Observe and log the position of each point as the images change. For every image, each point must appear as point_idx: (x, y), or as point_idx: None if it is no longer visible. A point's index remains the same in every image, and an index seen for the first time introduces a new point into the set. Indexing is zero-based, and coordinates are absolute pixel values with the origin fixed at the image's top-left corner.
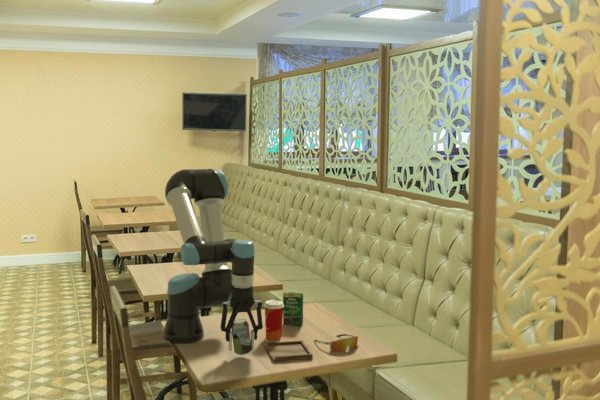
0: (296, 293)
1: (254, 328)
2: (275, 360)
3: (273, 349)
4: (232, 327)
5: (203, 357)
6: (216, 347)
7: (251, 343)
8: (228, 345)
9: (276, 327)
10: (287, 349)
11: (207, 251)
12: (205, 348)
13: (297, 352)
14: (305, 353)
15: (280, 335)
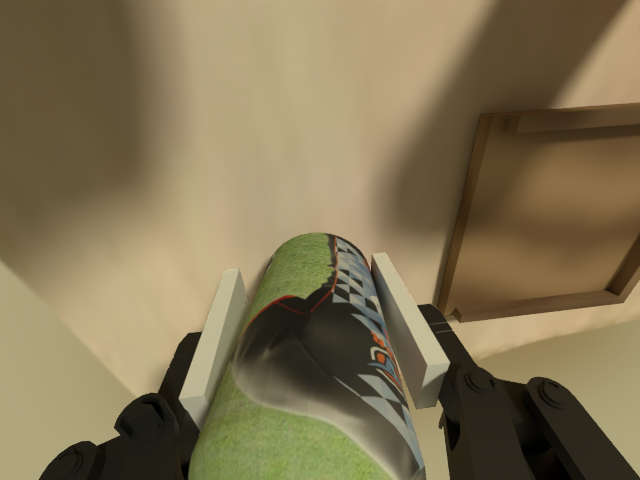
0: None
1: (454, 440)
2: (450, 311)
3: (503, 203)
4: None
5: (84, 238)
6: (119, 53)
7: (380, 302)
8: (220, 282)
9: None
10: (573, 209)
11: None
12: (25, 65)
13: (590, 251)
14: (613, 265)
15: None
